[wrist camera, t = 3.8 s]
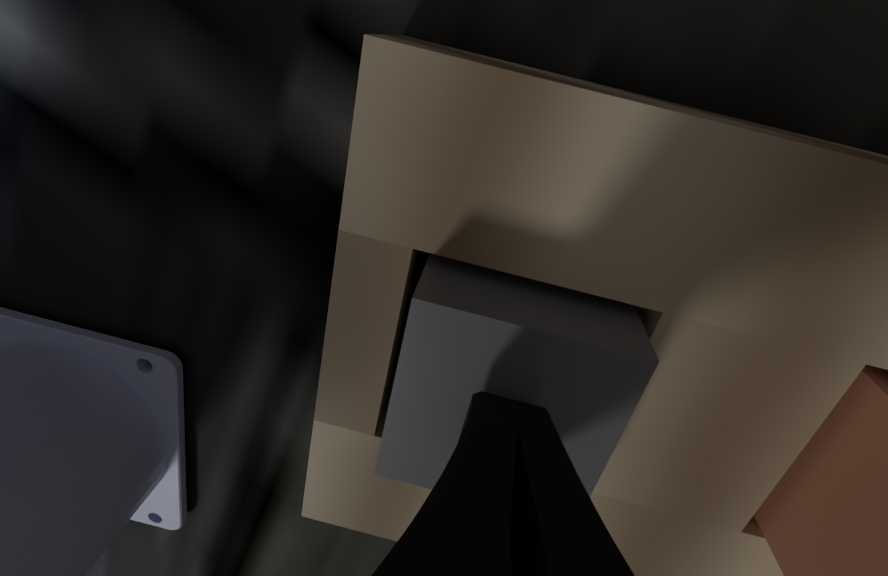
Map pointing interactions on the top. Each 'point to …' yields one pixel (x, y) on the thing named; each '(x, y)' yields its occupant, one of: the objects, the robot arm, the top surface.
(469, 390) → the gray cube
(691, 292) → the tan flat rectangular block
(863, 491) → the brown cube
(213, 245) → the top surface
